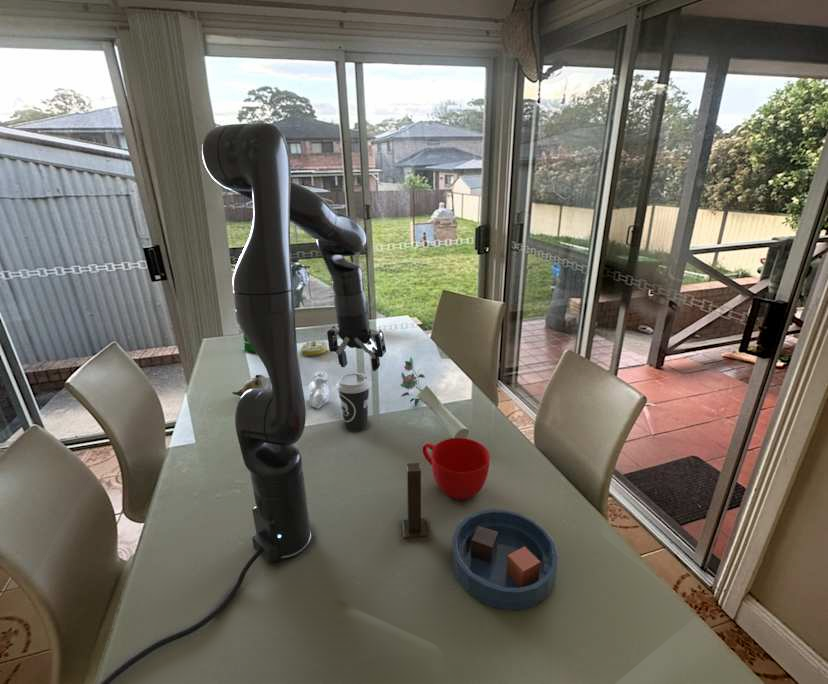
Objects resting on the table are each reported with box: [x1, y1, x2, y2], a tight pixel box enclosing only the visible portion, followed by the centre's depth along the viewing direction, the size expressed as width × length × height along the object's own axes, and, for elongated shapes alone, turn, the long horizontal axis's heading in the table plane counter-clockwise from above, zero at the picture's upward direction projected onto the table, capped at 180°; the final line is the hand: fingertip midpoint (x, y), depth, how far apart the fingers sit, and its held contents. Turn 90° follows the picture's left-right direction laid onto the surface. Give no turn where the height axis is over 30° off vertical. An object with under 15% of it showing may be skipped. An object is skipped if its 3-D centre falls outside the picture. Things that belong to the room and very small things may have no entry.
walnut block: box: [471, 526, 498, 563], centre depth 83 cm, size 4×4×4 cm
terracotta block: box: [506, 546, 540, 587], centre depth 78 cm, size 4×4×4 cm
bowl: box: [451, 508, 559, 611], centre depth 81 cm, size 19×19×5 cm
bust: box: [307, 371, 330, 409], centre depth 139 cm, size 12×8×11 cm
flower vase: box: [399, 356, 470, 439], centre depth 132 cm, size 12×12×35 cm
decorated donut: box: [299, 340, 328, 357], centre depth 178 cm, size 10×11×4 cm
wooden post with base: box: [402, 462, 427, 539], centre depth 87 cm, size 4×4×16 cm
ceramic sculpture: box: [231, 374, 272, 397], centre depth 141 cm, size 11×9×15 cm
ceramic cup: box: [422, 437, 491, 501], centre depth 100 cm, size 13×17×10 cm
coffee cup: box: [335, 372, 371, 432], centre depth 125 cm, size 10×10×15 cm
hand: (359, 367), depth 110 cm, fingers open, 8 cm apart
